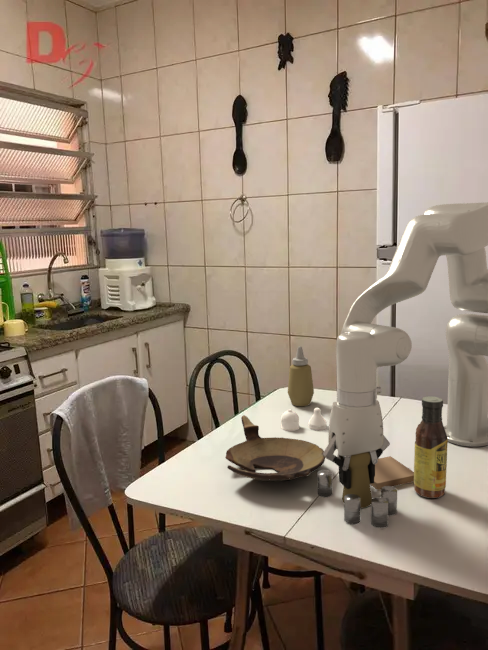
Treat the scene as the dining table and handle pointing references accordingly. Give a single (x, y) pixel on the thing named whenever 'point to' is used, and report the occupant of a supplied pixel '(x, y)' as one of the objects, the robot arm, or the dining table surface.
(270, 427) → the dining table surface
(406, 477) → the walnut board
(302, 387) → the squeeze bottle
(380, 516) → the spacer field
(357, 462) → the olive pawn
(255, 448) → the broken ceramic bowl
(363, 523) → the dining table surface
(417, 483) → the sauce bottle
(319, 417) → the container set
